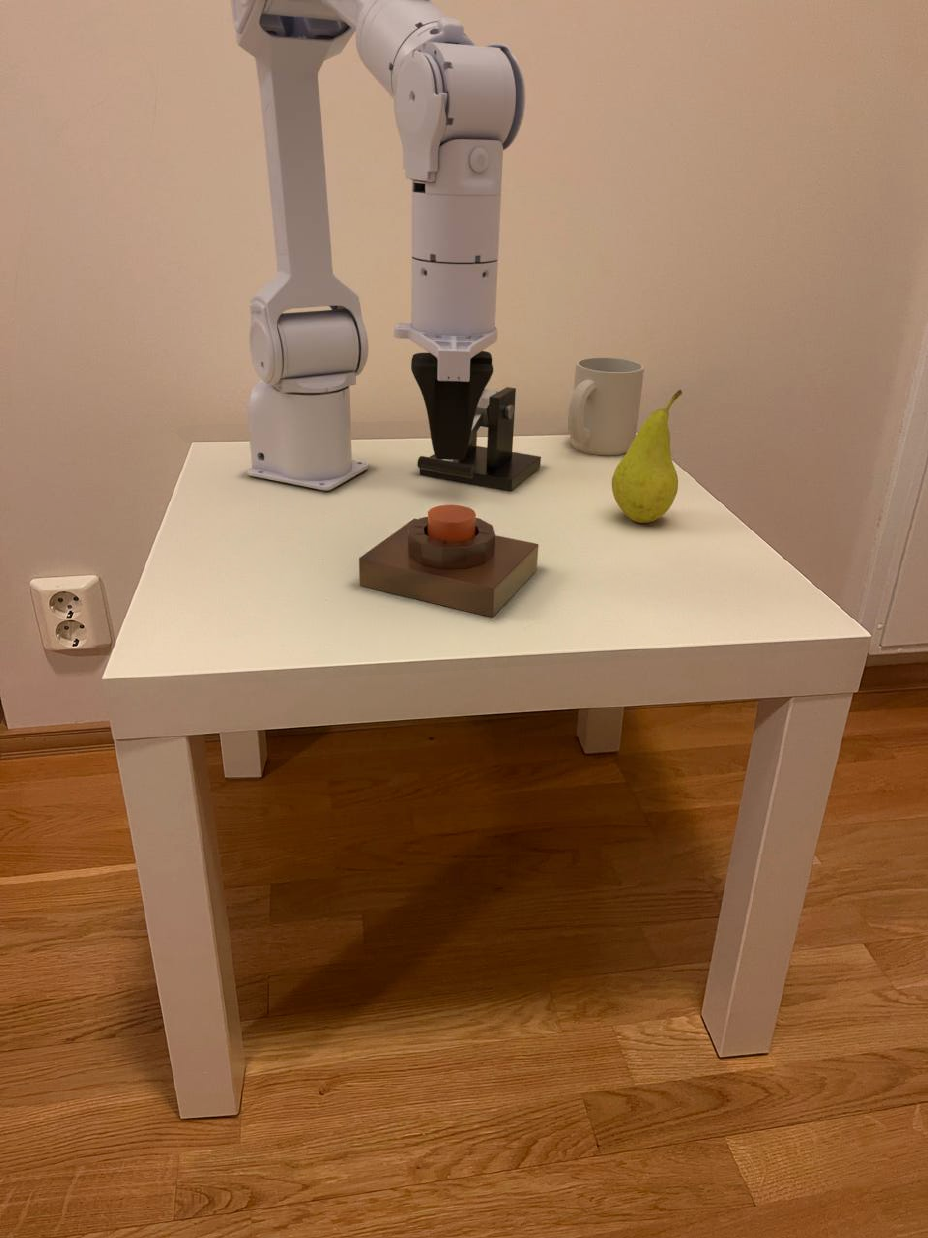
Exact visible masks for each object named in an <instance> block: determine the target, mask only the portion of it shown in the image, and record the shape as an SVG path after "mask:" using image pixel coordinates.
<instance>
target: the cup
mask: <svg viewBox="0 0 928 1238" xmlns="http://www.w3.org/2000/svg"><path fill="white" fill-rule="evenodd" d="M574 373H575V374H574V384H573V386H574V387H573V393H572V396H571V399H570V402H569V406H568V407H569V408H568V415H567V423H568V424H567V426H568V427H567V428H568V432H569V443H570V445H571V446H572V447H573V449H575V450H577V451H579V452H582V453H585V454H590V455H596V456H619V455H626V453H627V451H628V449H629V448H630V446H631V444H632V442H633V440H634V439H635V437H636V435H637V432H638V431H637V430H638V423H639V414H640V412H639V411H640V407H641V406H640V405H641V398H642V390H643V389H642V388H643V382H644V373H645V366H644V364H643V363H641V362H637V361H636V360H630V359H626V358H618V357H604V356H601V357H599V356H598V357H587V358H581V359H579V360H577V361H576V362H575V372H574Z"/></svg>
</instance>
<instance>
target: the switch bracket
mask: <svg viewBox="0 0 928 1238" xmlns="http://www.w3.org/2000/svg"><path fill="white" fill-rule="evenodd" d="M516 394H517V388H515V387H510V386H506V387H504V388H503V389H501V390H499V391H497V393H496V394H494V395H492V396H490V397H489V419H488V427H487V442H486V443H487V445H486V446H481V445H478V444H477V443H478V432H477V433H476V434H475V436H474V437H473V439H472V441H471V442H470V444H469V446H468V448H467V451H466V455H465V457H464V459H463V460H459V462H458V463H464V464H470V465H474V466H475V475H474V477H473V478H468V477H462V476H457V475H451V474H446V473H440V472H435V471H430V470H424V469H419V475H422V476H427V477H433V478H438V479H444V480H449V481H454V482H460V483H465V484H470V485H475V486H480V487H486V488H492V489H497V490H503V491H507V492H512V491H514V490H515V489H516V488H518V486H520V485H521V484H523V482H524V481H526V480H527V479H528V478H530V477H531V476H532V475H533V474H534V473H535V472H537V471H538V470H539V469H541V462H542V456H538V455H533V454H529V453H528V454H527V453H521V452H515V451H513V447H514V429H515V411H516V396H517V395H516ZM429 457H430V458H436V457H435V454H434V453H433V454H431V455H430V456H429Z"/></svg>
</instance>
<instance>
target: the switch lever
mask: <svg viewBox="0 0 928 1238" xmlns="http://www.w3.org/2000/svg"><path fill="white" fill-rule="evenodd" d="M497 392H498V390H492V389H486V388H485V389H484V391H483V393H482V395H481V398H480V400H479V403H478V406H477V409H476V412H475V416H474V420H473V425H472V430H471V435H470V440H469V444H470V442H471V441H472V439H473V437H474V436H475V434H476V433H477V434H478V431H479V429H480V428H481V427H483V428H488V419H489V397H490V396H492V395H494V394H496V393H497ZM469 444H468V446H469ZM458 462H459V460H448V459H436V458H430V456H424V455H420V456H419V457H418V459H417V463H416V464H417V468H418V469H419V470H420V469H424V470H430V471H435V472H440V473H446V474H451V475H457V476H462V477H468V478H473V477H474V475H475V466H474V465H470V464H464V463H458Z"/></svg>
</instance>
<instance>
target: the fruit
mask: <svg viewBox="0 0 928 1238" xmlns="http://www.w3.org/2000/svg"><path fill="white" fill-rule="evenodd" d="M682 394H683V391H682V389H678V390H677V391H676V392H675V393H674V394H673V395H672V397H671V398H670V401H669V402H668V403H667V405H666V406H665V407H664V408H658V409H656V410H654V411H652V413H650V415H649V416H648V417H646V419H645V420H644V422H643V424H642V425H641V426H640V428H639V430H638V431H637V432H636V437H635V439H634V440H633V442H632V444H631V446H630V448H629V449H628V451H627V453H625V454H624V455H623V457H622V458H621V460H620V461H619V463H618V464H617V465H616V467H615V469H614V472H613V474H612V477H611V491H612V495H613V499H614V500H615V503H616V504H617V506H618V507H619V509H620V510H621V511H622V513H623V514H624V515H625V516H626V517H627V518H629V520H631V521H633V522H634V523H638V524H648V523H652V522H654V521H656V520H659V519H660V518H662V516H663V515H665V514H666V513H667V512H668V511H669V509H670V508H671V506H672V505H673V503H674V501H675V499H676V496H677V494H678V489H679V477H678V473H677V470H676V467H675V465H674V463H673V459H672V455H671V433H670V427H669V417H670V413H669V411H670V408H671V407H672V405H673V404H674V402H675V401H676V400H677V399H679V397H680V396H681V395H682Z"/></svg>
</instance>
